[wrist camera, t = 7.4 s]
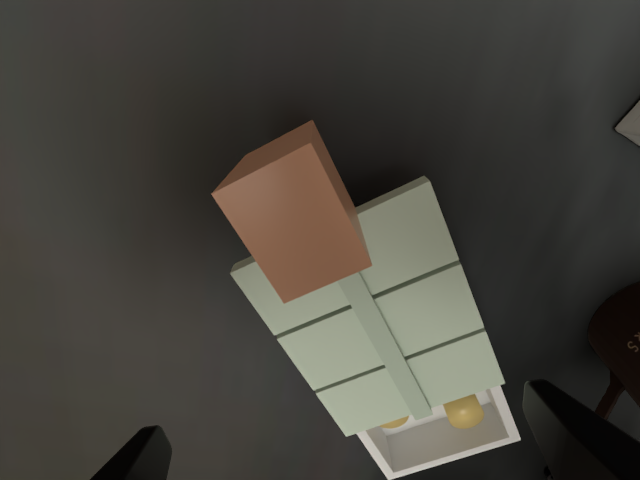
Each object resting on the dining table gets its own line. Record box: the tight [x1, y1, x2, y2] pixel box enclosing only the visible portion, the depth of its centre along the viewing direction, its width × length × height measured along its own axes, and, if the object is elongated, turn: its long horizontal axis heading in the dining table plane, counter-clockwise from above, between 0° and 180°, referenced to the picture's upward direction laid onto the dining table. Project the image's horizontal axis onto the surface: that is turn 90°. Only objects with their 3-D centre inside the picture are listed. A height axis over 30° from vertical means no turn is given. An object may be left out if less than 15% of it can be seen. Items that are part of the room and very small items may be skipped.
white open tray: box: [356, 385, 521, 480], centre depth 22 cm, size 12×9×3 cm
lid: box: [211, 120, 505, 437], centre depth 14 cm, size 16×9×5 cm, turn 27°
